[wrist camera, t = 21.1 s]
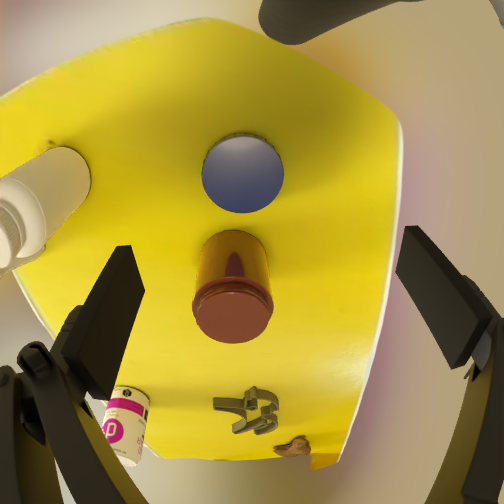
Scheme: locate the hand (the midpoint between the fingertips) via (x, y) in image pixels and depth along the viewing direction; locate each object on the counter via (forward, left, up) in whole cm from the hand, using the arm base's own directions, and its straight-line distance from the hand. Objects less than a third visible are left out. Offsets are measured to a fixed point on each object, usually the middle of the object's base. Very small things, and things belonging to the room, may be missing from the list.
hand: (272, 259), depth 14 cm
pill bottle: (+22, 0, -20) cm, 30 cm away
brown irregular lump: (-6, +72, -20) cm, 74 cm away
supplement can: (+27, +44, -20) cm, 55 cm away
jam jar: (+3, +13, -20) cm, 24 cm away
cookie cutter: (+3, +50, -20) cm, 53 cm away
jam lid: (+1, +2, -18) cm, 18 cm away
